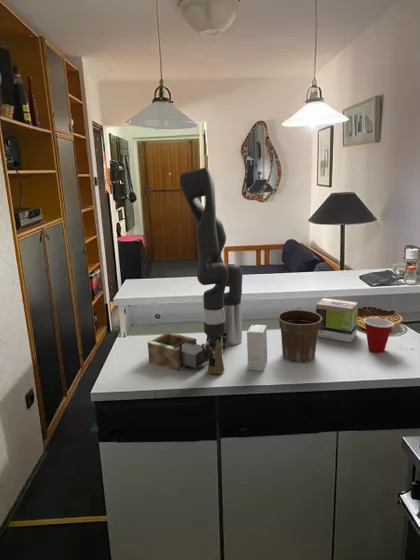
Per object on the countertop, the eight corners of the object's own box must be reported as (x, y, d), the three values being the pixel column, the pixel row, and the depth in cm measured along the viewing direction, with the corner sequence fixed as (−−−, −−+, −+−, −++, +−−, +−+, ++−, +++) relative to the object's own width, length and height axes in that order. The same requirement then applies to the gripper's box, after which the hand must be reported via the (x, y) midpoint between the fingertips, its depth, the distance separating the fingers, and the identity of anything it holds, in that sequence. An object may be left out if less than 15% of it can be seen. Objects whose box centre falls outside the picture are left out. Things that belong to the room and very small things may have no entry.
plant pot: (293, 343, 175) (294, 306, 171) (328, 355, 164) (330, 315, 160) (268, 356, 164) (269, 317, 160) (304, 370, 153) (306, 328, 149)
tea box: (356, 334, 182) (359, 301, 178) (350, 343, 174) (352, 309, 170) (322, 328, 190) (323, 296, 186) (314, 336, 182) (315, 303, 178)
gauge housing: (197, 358, 165) (196, 337, 163) (178, 370, 156) (176, 349, 154) (168, 350, 173) (167, 331, 171) (149, 362, 163) (147, 341, 161)
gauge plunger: (209, 359, 159) (208, 340, 157) (193, 370, 151) (192, 351, 149) (187, 353, 165) (186, 335, 163) (171, 364, 157) (169, 345, 155)
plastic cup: (395, 348, 167) (398, 320, 164) (384, 358, 160) (387, 328, 157) (368, 341, 175) (370, 314, 171) (357, 350, 167) (359, 321, 164)
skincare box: (263, 371, 153) (263, 333, 149) (246, 369, 155) (246, 331, 151) (267, 361, 161) (267, 324, 157) (251, 359, 162) (251, 323, 158)
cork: (223, 374, 150) (222, 345, 147) (206, 373, 152) (204, 344, 149) (225, 366, 156) (224, 338, 153) (209, 365, 157) (208, 337, 154)
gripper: (215, 311, 156) (217, 354, 161) (193, 324, 145) (195, 370, 150) (233, 314, 152) (234, 358, 157) (212, 328, 141) (214, 375, 146)
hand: (215, 364), depth 153 cm, fingers closed on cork, 4 cm apart
